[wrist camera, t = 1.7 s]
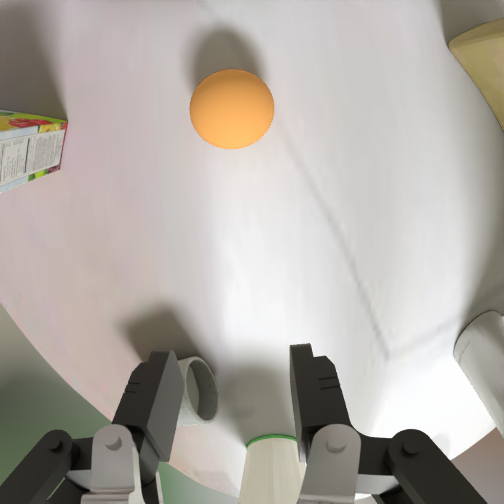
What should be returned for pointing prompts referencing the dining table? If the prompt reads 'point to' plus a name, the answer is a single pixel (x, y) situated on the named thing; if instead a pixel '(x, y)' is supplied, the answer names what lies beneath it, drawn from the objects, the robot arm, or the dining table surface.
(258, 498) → the cup
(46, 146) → the snack box
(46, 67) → the dining table surface
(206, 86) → the ball
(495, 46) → the cheese
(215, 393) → the ceramic mug
